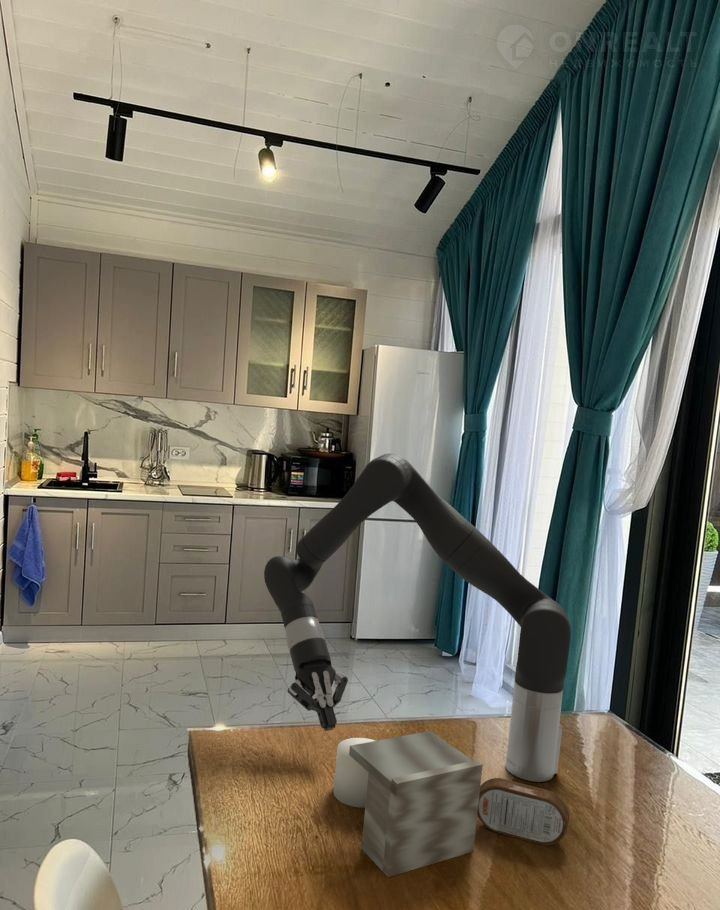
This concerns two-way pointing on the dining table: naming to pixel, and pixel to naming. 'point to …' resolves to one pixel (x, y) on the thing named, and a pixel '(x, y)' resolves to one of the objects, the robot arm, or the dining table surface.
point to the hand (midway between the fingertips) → (330, 729)
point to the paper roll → (350, 775)
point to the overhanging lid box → (417, 801)
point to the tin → (522, 811)
